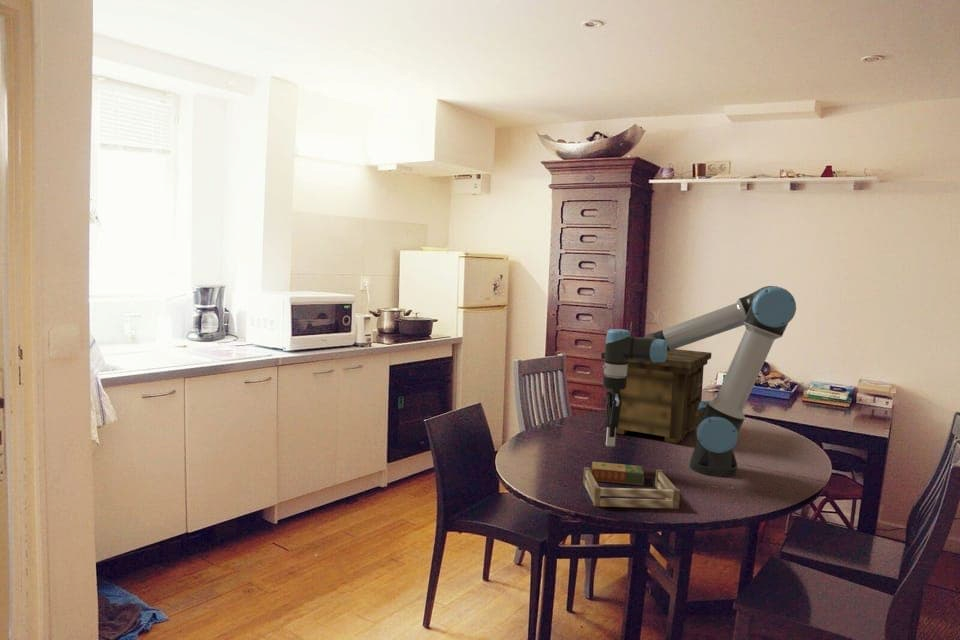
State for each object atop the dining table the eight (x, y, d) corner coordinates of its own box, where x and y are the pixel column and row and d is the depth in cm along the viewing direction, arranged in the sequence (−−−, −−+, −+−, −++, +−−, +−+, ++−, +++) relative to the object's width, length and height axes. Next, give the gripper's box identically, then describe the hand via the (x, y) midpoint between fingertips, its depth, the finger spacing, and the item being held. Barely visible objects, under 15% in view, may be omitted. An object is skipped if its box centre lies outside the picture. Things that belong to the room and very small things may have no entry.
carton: (591, 473, 208) (591, 460, 207) (641, 477, 205) (642, 464, 204) (591, 481, 199) (591, 468, 199) (643, 486, 197) (644, 472, 196)
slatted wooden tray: (660, 486, 196) (661, 469, 196) (678, 508, 178) (680, 490, 178) (583, 483, 196) (584, 467, 196) (594, 506, 178) (595, 488, 177)
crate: (626, 416, 286) (629, 344, 283) (706, 429, 268) (711, 352, 265) (597, 433, 257) (601, 352, 254) (685, 448, 238) (691, 362, 235)
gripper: (600, 371, 216) (595, 439, 219) (607, 379, 203) (602, 450, 206) (622, 372, 217) (617, 440, 219) (631, 380, 204) (626, 452, 206)
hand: (610, 445), depth 212 cm, fingers closed
